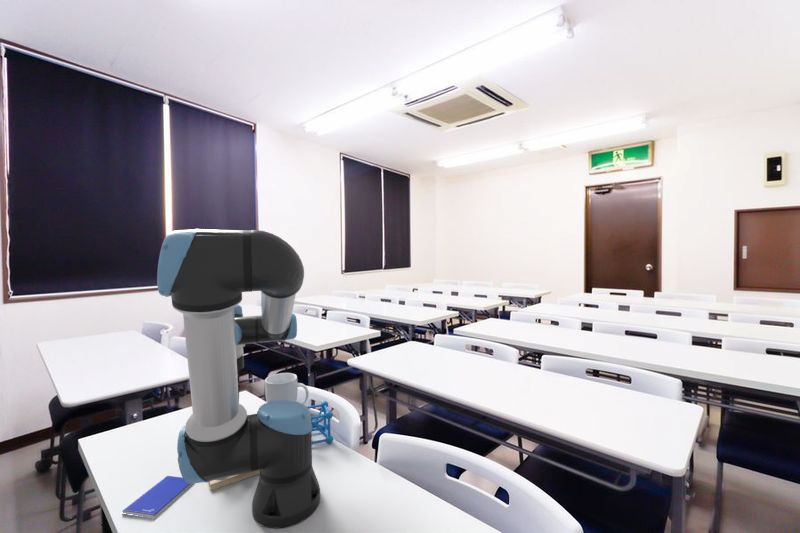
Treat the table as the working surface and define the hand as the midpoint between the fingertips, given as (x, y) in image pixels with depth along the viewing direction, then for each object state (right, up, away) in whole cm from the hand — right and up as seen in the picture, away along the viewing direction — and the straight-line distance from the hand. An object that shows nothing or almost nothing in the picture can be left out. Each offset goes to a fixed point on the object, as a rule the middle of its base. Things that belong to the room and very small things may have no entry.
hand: (232, 433), depth 108 cm
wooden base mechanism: (+2, -4, -7) cm, 9 cm away
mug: (+9, -3, +21) cm, 23 cm away
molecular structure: (+24, -4, +4) cm, 25 cm away
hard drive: (-7, -6, -22) cm, 24 cm away
